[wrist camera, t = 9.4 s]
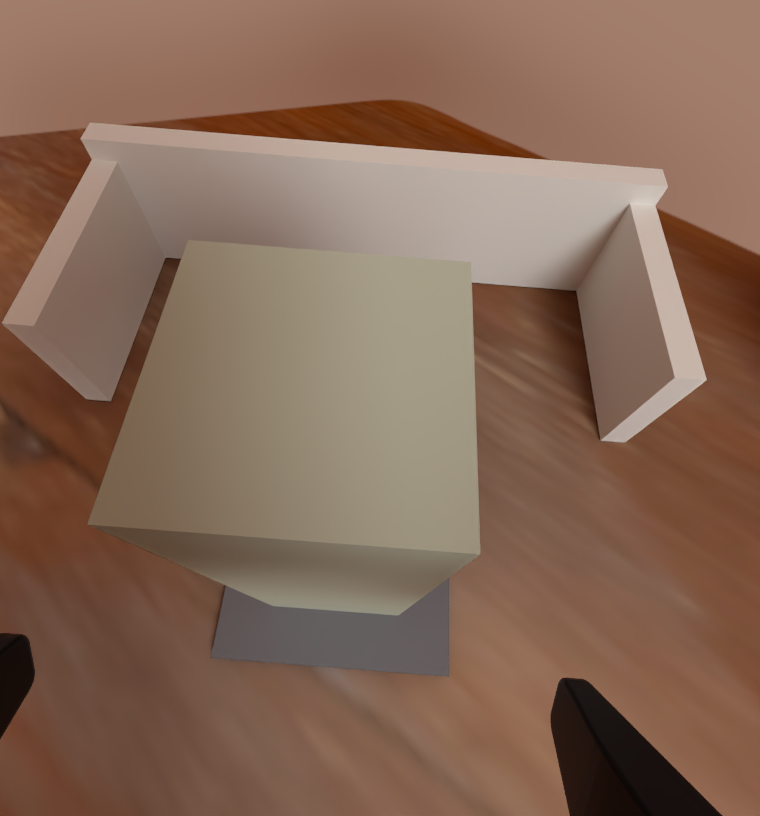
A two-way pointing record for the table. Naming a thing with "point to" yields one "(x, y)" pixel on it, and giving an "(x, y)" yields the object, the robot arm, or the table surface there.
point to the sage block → (305, 428)
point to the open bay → (364, 244)
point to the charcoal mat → (337, 635)
